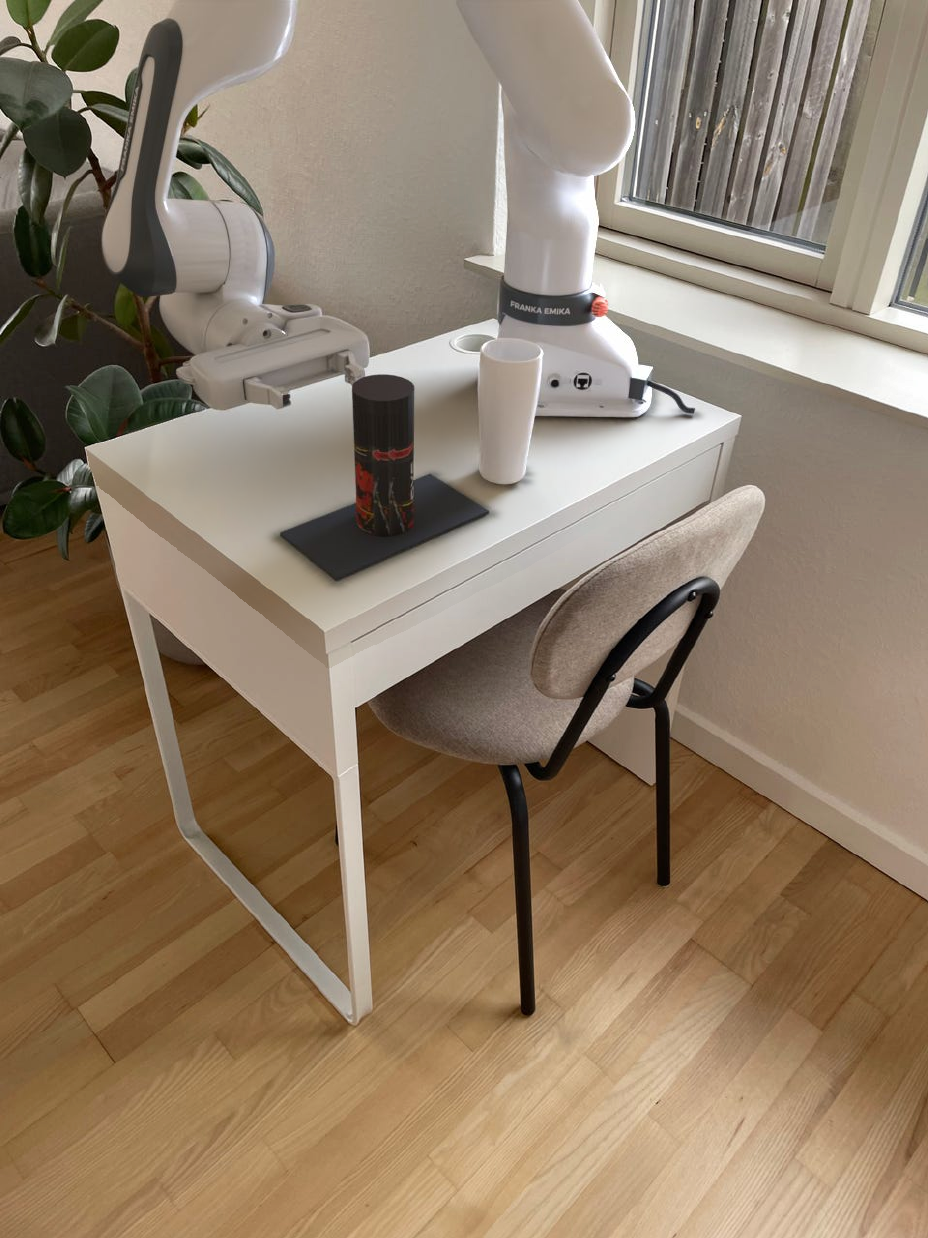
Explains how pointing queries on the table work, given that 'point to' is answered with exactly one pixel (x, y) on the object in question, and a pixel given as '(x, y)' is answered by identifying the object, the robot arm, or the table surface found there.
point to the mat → (351, 549)
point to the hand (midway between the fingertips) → (323, 388)
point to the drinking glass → (507, 406)
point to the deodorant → (384, 453)
